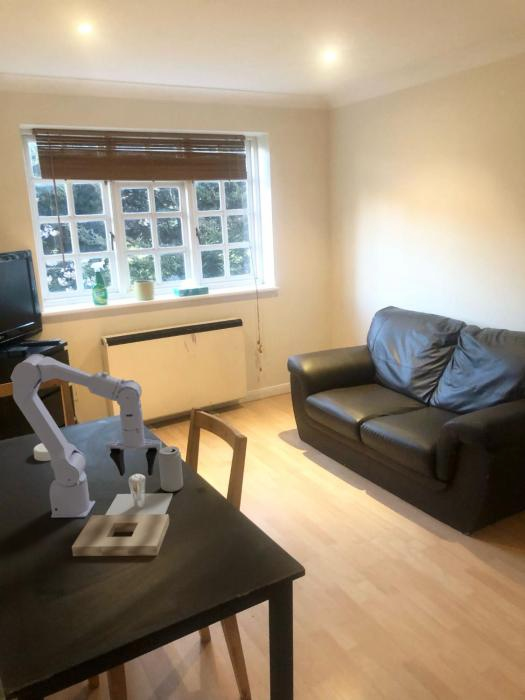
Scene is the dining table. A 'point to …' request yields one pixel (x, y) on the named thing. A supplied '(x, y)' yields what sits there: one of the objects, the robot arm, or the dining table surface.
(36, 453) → the white ridged disc
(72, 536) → the dining table surface
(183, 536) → the dining table surface
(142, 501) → the milkshake
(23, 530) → the dining table surface
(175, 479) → the beverage can
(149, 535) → the pocket holder
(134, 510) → the grey mat
